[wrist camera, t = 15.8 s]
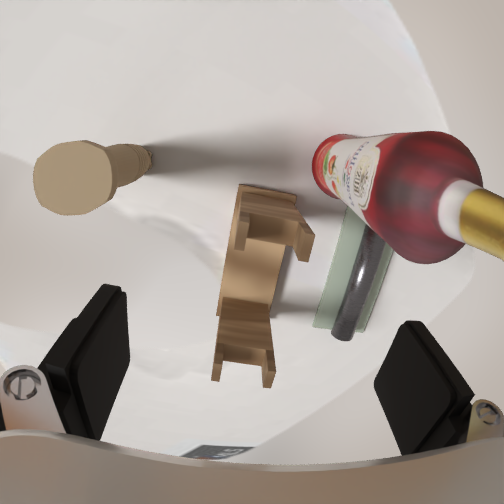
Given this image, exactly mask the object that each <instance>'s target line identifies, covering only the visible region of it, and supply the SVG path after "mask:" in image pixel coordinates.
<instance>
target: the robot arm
mask: <svg viewBox="0 0 504 504" xmlns="http://www.w3.org/2000/svg"><path fill="white" fill-rule="evenodd" d="M129 362H130V349H129V335H128V321H127V296H126V293H125V292H122V291H121V287H119V286H114V285H109V284H103V285H102V286H101V287H100V288H99V290H98V291H97V292H96V293H95V295H94V296H93V297H92V299H91V300H90V301H89V303H88V304H87V305H86V306H85V308H84V309H83V311H82V312H81V313H80V315H79V316H78V317H77V318H74V319H73V320H72V321H71V322H70V323H69V324H68V326H67V327H66V328H65V330H64V331H63V332H62V334H61V335H60V337H59V338H58V339H57V341H56V342H55V344H54V345H53V346H52V348H51V349H50V351H49V352H48V353H47V355H46V356H45V358H44V359H43V361H42V362H41V364H40V365H39V367H38V368H35V367H33V366H28V365H20V366H16V367H13V368H10V369H9V370H7V371H6V372H5V373H4V374H3V375H2V376H1V378H0V504H504V415H503V413H502V411H501V410H500V409H499V407H498V406H496V405H495V404H494V403H492V402H490V401H488V400H483V399H480V400H477V401H475V402H474V404H473V405H471V403H470V401H471V400H472V398H473V397H474V395H475V394H474V393H473V391H472V390H471V388H470V387H469V385H468V384H467V382H466V381H465V380H464V378H463V377H462V375H461V374H460V372H459V371H458V370H457V368H456V367H455V366H454V364H453V363H452V361H451V360H450V358H449V357H448V356H447V354H446V353H445V352H444V350H443V349H442V348H441V346H440V345H439V344H438V343H437V341H436V340H435V338H434V337H433V336H432V334H431V333H430V332H429V330H428V329H427V328H426V326H425V325H424V324H423V323H422V322H421V321H406V322H405V323H404V324H402V325H401V326H400V327H399V329H398V331H397V334H396V336H395V338H394V340H393V343H392V345H391V347H390V349H389V351H388V353H387V355H386V358H385V360H384V362H383V364H382V366H381V368H380V370H379V372H378V374H377V376H376V378H375V380H374V389H375V391H376V394H377V396H378V398H379V401H380V403H381V405H382V408H383V410H384V412H385V415H386V417H387V420H388V422H389V425H390V427H391V429H392V432H393V435H394V437H395V440H396V442H397V445H398V447H399V449H400V452H401V455H402V456H397V457H391V458H383V459H376V460H367V461H357V462H346V463H332V464H310V465H267V464H265V465H264V464H243V463H230V462H218V461H209V460H200V459H192V458H185V457H178V456H172V455H166V454H160V453H154V452H148V451H143V450H138V449H133V448H128V447H124V446H119V445H115V444H111V443H107V442H102V441H100V439H101V437H102V434H103V431H104V428H105V426H106V423H107V420H108V417H109V415H110V412H111V409H112V407H113V404H114V402H115V399H116V396H117V394H118V391H119V389H120V386H121V384H122V381H123V379H124V376H125V374H126V371H127V369H128V366H129Z"/></svg>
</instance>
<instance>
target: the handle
mask: <svg viewBox="0 0 504 504" xmlns="http://www.w3.org/2000/svg"><path fill="white" fill-rule="evenodd" d="M151 156H152V153H151V152H150V151H147V150H145V149H144V148H142V146H140V145H134V144H116V145H112V146H108V147H104V146H101V145H99V144H96V143H93V142H90V141H87V140H82V141H73V142H66V143H61V144H57V145H55V146H53V147H51V148H50V149H49V150H47V151H46V152H45V153H44V154H42V155H41V156H40V157H39V158H38V159H37V161H36V164H35V167H34V173H33V183H34V190H35V193H36V197H37V199H38V201H39V203H40V204H41V205H42V206H43V207H45V208H47V209H49V210H50V211H52V212H54V213H57V214H60V215H81V214H86V213H88V212H91V211H92V210H94V209H96V208H98V207H99V206H101V205H103V204H104V203H106V202H108V201H109V200H111V199H112V198H113V196H114V194H115V192H116V189H117V187H121V186H125V185H127V184H130V183H132V182H134V181H136V180H137V179H139V178H140V177H142V176H143V175H144V174H145V173H146V171H147V170H149V169H150V168H151V167H152V163H151Z"/></svg>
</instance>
